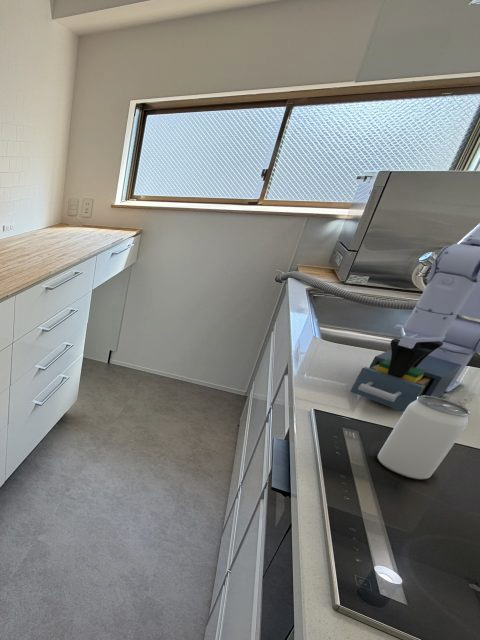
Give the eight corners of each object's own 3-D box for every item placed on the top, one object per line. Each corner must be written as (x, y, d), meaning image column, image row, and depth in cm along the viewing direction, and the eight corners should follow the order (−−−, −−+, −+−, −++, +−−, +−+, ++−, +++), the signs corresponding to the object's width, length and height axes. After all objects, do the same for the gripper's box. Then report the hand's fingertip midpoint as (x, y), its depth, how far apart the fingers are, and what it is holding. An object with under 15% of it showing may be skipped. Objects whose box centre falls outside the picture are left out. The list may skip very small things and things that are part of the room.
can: (441, 484, 64) (488, 419, 59) (393, 477, 65) (435, 413, 60) (410, 458, 70) (450, 397, 64) (366, 452, 71) (402, 391, 65)
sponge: (418, 383, 83) (426, 370, 82) (410, 388, 82) (419, 374, 80) (380, 371, 88) (387, 358, 87) (373, 375, 86) (380, 362, 85)
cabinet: (421, 409, 84) (442, 377, 81) (358, 386, 93) (375, 356, 89) (442, 395, 90) (462, 365, 87) (381, 375, 98) (397, 346, 95)
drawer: (398, 419, 79) (414, 393, 76) (339, 396, 86) (352, 372, 84) (427, 399, 87) (442, 375, 84) (371, 380, 94) (384, 357, 91)
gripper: (421, 299, 84) (388, 359, 91) (394, 308, 78) (360, 372, 84) (470, 310, 79) (431, 372, 85) (445, 320, 72) (405, 387, 78)
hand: (399, 373), depth 84 cm, fingers closed on sponge, 4 cm apart
